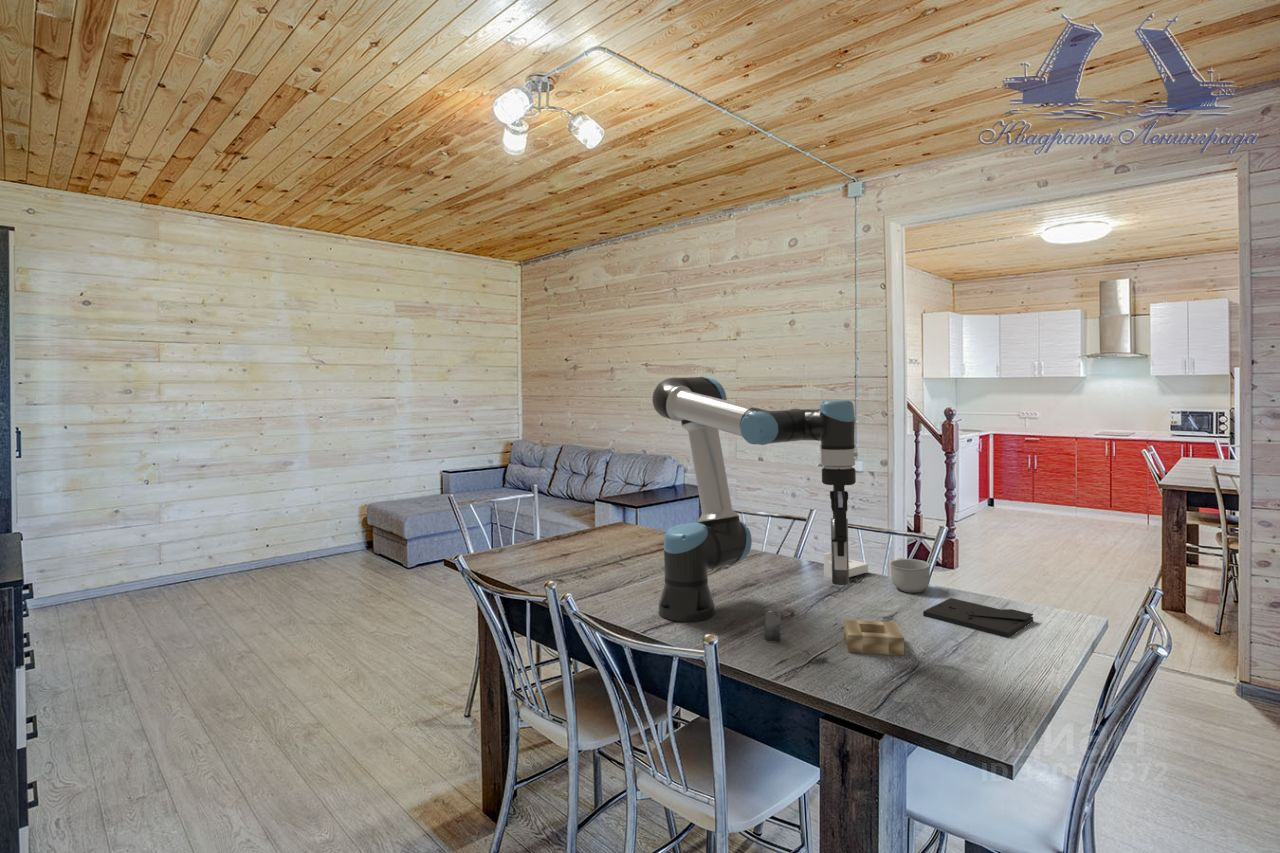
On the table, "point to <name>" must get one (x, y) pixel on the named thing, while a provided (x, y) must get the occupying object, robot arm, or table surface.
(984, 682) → the table surface
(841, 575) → the long pin
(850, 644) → the socket block
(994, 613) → the picture frame
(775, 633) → the short pin
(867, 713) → the table surface
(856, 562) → the bracket
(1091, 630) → the table surface
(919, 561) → the teacup
